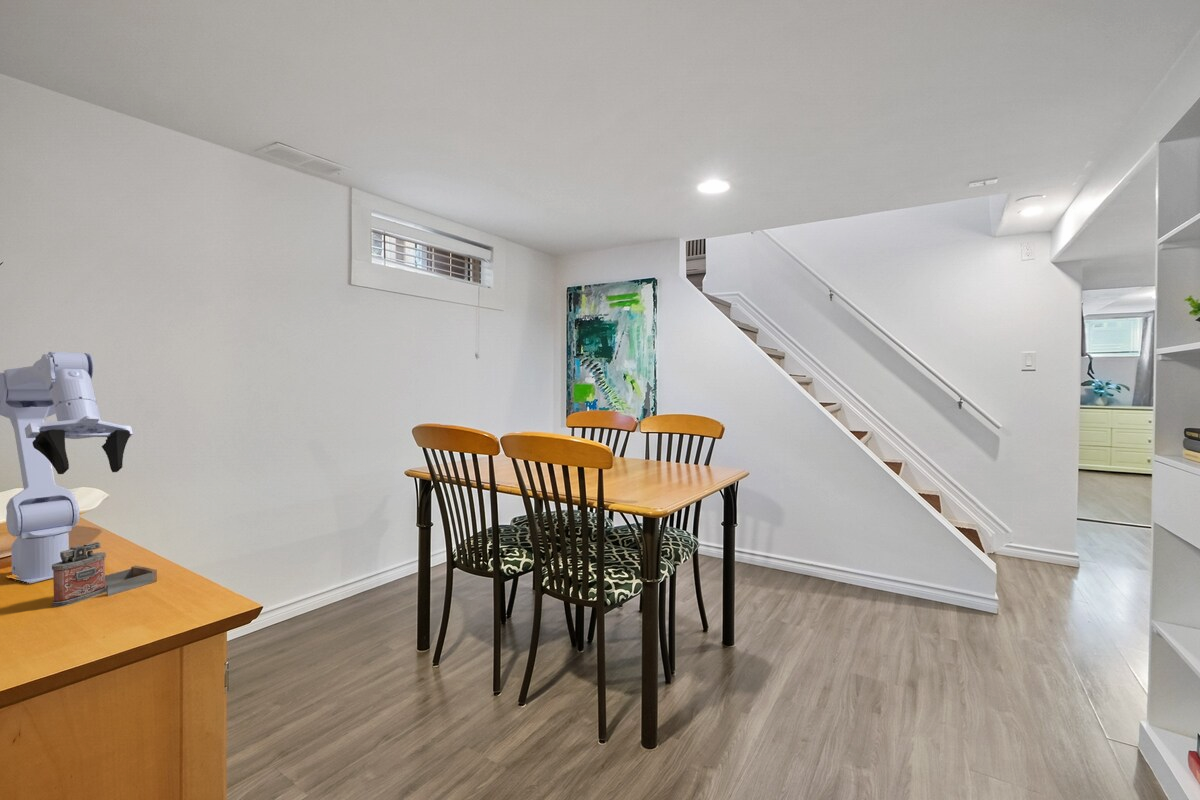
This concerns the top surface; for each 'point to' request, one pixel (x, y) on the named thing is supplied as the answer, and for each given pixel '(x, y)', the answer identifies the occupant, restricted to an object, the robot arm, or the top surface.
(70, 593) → the lighter
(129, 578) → the keeper
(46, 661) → the top surface
